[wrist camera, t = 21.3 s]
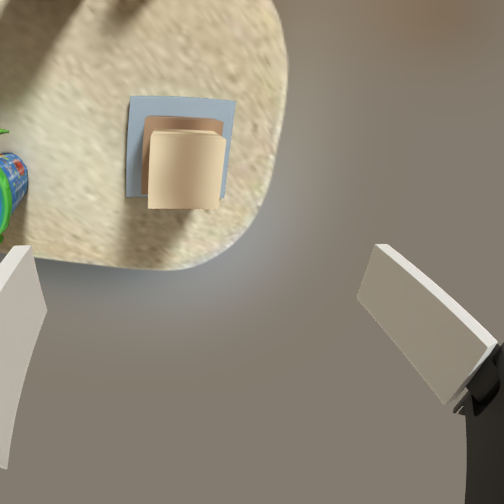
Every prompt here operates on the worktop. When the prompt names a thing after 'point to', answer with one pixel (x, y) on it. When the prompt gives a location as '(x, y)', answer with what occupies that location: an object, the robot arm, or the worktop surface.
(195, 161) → the oak brick
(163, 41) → the worktop surface
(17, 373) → the robot arm
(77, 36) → the worktop surface
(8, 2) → the worktop surface
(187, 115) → the plate
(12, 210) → the snack cup
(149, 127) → the walnut brick
